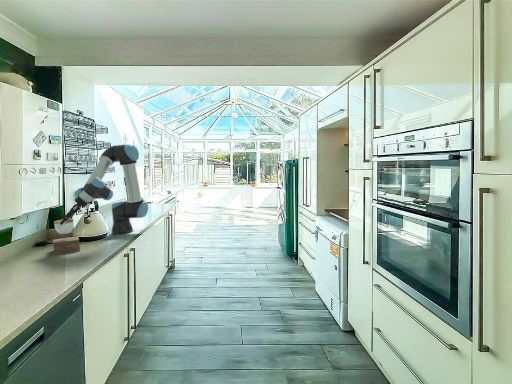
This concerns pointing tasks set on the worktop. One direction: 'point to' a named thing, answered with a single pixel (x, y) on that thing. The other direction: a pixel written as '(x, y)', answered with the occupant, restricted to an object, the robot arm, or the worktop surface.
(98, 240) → the worktop surface
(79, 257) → the worktop surface
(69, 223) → the lidded jar
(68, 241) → the walnut block
